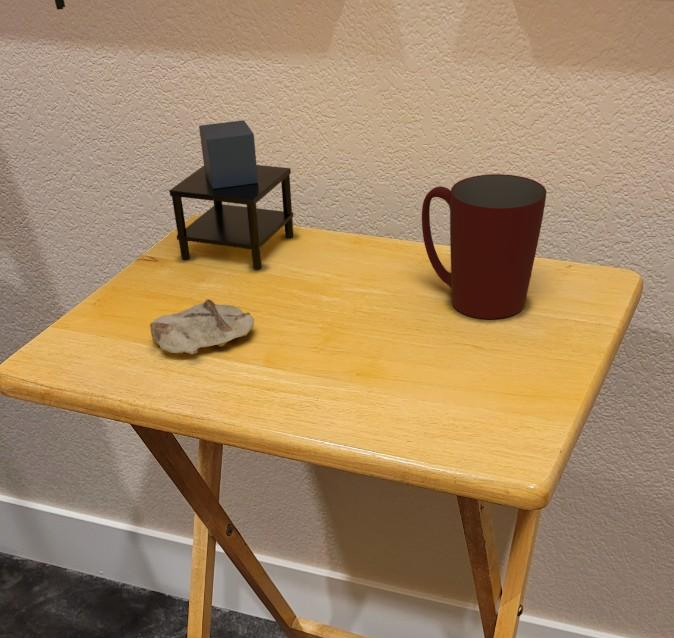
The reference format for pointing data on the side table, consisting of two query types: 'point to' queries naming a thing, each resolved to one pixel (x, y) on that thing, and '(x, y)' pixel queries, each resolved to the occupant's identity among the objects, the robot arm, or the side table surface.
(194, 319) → the stone
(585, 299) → the side table surface
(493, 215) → the mug
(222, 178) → the block
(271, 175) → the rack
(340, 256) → the side table surface
